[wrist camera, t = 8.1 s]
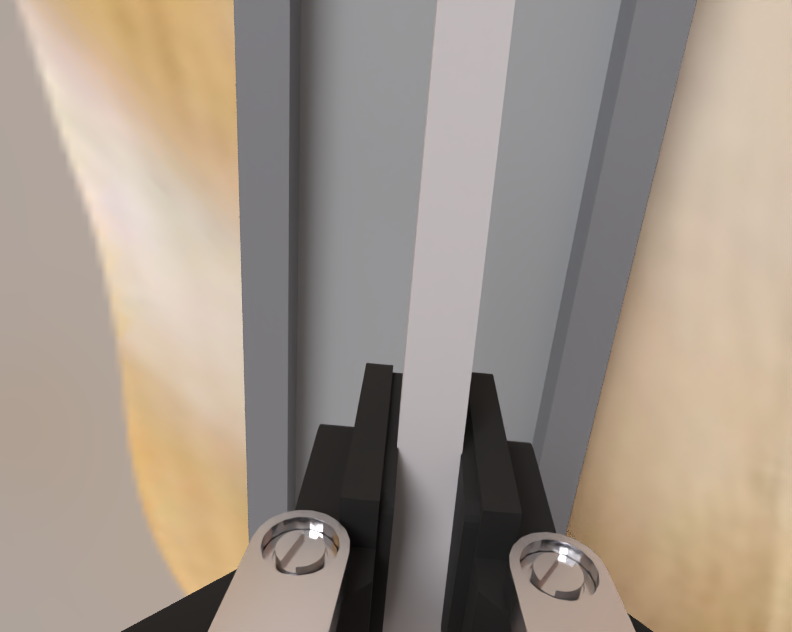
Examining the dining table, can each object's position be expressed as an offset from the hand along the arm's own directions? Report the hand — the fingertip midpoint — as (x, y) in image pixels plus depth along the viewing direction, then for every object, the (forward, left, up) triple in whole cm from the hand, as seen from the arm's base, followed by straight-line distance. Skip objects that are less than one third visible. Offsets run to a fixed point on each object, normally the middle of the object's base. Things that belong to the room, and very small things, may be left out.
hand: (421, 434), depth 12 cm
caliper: (0, 0, 0) cm, 0 cm away
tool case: (0, 0, -10) cm, 10 cm away
